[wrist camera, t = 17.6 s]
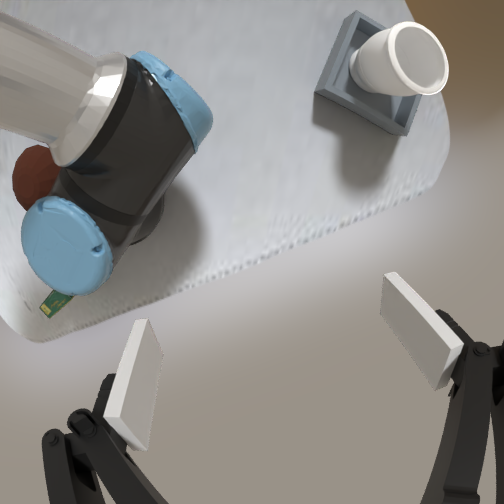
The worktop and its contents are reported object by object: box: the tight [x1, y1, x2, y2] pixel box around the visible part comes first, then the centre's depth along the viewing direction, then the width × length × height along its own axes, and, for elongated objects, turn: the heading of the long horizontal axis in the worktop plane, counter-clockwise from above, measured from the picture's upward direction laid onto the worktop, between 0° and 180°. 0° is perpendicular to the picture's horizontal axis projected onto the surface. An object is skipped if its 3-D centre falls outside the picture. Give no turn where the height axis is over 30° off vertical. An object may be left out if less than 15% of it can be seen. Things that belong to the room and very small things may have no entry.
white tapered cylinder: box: [349, 21, 449, 96], centre depth 33 cm, size 11×10×15 cm
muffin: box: [12, 145, 62, 211], centre depth 38 cm, size 12×11×10 cm
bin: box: [314, 10, 422, 136], centre depth 39 cm, size 16×16×5 cm
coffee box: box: [40, 290, 75, 318], centre depth 44 cm, size 8×3×13 cm, turn 122°
